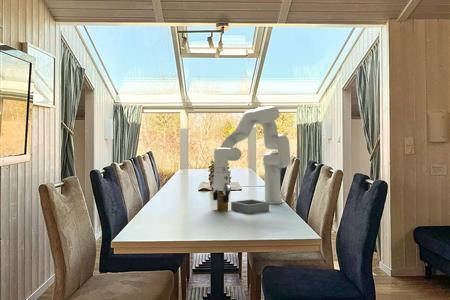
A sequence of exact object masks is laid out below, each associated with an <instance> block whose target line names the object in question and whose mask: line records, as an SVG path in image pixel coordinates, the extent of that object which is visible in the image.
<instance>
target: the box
mask: <svg viewBox="0 0 450 300" xmlns="http://www.w3.org/2000/svg"><path fill="white" fill-rule="evenodd" d="M230 211H236V212H240V213H243V214H255V213H264V212H269V211H270V204H269V202H263V201H262V200H257V199H244V200H243V199H242V200H236V201H231V202H230Z"/></svg>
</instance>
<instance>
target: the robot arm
mask: <svg viewBox="0 0 450 300" xmlns="http://www.w3.org/2000/svg"><path fill="white" fill-rule="evenodd" d="M279 117H280V111H279V109H278V108H277V107H276V106H260V107H257V108H255V109H249V110H246V111H245V112H244V113H243V114H242V117H241V119H240V120H239V122H238V124H237V127H236V128H235V129H234V130H233V131H232V132H231V133H230V134H229V135H227V137H226V138H225V139H224V140H223V142H222V143H221V145H220V147H216V148H215V149H214V150H213V151H214V153H213V156H214V157H213V159H214V160H213V169H214V170H213V171H214V172H213V179H212V180H213V181H212V184H211V190H212V195H213V196H212V200H213V201H217V194H218V191H223V193H224V195H223V202H224V203H225V202H228V203H229V202H230V201H229V200H230V199H229V198H230V194H231V190H232V187H231V184H230V175H229V171H228V170H229V167H228V166H229V165H228V162H229V161H231V162H232V161H233V162H235V161H236V162H237V161H239V160H240V159H241V158H242V151H241V149H239V147H238V148H237V147H235V146H236V145H237V144H238V143H240V142H243V141H245V140H246V139H248V138H249V136H250V134H251V133H252V131H253V129H254V127H255V125H261V126H262V130H263V140H264V141H263V142H264V147H265V148H266V149H267V150H271V151H268V152H266V153H264V155H263V158H262V160H263V161H262V163H263V167H264V199H263V200H261V201H263V202H269V205H278V204H282V203H284V201H283V200H282V199H286V197H287V195H285V194H284V195H282V194H281V172H280V170H279V168H280V169H281V168H282V169H286V168H287V167H289V166H290V163H291V150H290V146H291V145H290V140H289V138H288V137H287V135H286V134H281V133H280V134H278V127H277V126H278V125H277V123H276V120H278V119H279ZM272 150H273V151H272ZM274 150H275V151H274ZM225 191H226V192H225Z"/></svg>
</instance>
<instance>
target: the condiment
mask: <svg viewBox="0 0 450 300" xmlns="http://www.w3.org/2000/svg"><path fill="white" fill-rule="evenodd" d="M225 192H226V191H225ZM223 195H224V193H223V191H218V194H217V200H216V201H217V202H216V203H217V204H216V207H217V208H216V209H211V211H212V212H215V213H227V212H231V209H230V210H229V202H225V203H224V202H223ZM228 210H229V211H228ZM225 211H226V212H225Z"/></svg>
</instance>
